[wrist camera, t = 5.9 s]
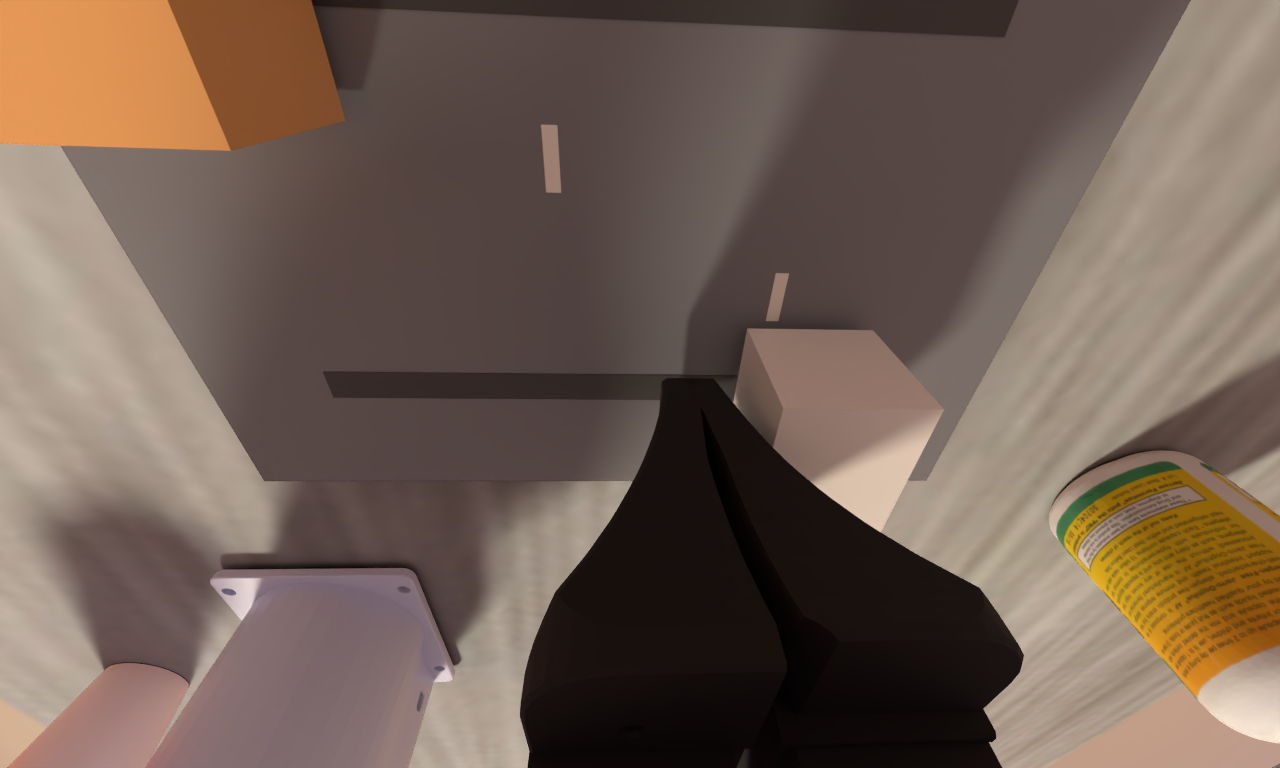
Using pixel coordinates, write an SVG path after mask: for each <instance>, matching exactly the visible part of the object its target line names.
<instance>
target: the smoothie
mask: <svg viewBox="0 0 1280 768" xmlns="http://www.w3.org/2000/svg"><path fill="white" fill-rule="evenodd" d="M188 688H189V684H188V682H187V681H186V680H185V679H184V678H183V677H181V676H179V675H178V674H176V673H174V672H171V671H169V670H166V669H163V668H159V667H156V666H151V665H145V664H137V663H121V664H115V665H111V666H109V667H107V668H106V669H105V670H104V671H103V672H102V673H101V674H100V675H99V676H98V677H97V678H96V679H95V680H94V681H93V682H92V683H91V684H90V685H89V686H88V687H87V688H86V689H85V690H84V691H83V692H82V693H81V694H80V695H79V696H78V697H77V698H76V699H75V700H74V701H73V702H72V703H71V704H70V705H69V706H68V707H67V708H66V709H65V710H64V711H63V712H62V713H61V714H60V715H59V716H58V717H57V718H56V719H55V720H54V721H53V722H52V723H51V724H50V725H49V726H48V727H47V728H46V729H45V730H44V731H43V732H42V734H40V735H39V736H38V737H37V738H36V739H35V740H34V741H33V742H32V743H31V744H30V745H29V747H27V749H25V750H24V751H23V753H21V754H20V755H19V756H18V757H17V758H16V759H15V760H14V761H13V763H12V764H10V765H9V767H7V768H145V767H146V765H147V764H148V762H149V761H150V759H151V757H152V755H153V754H154V752H155V750H156V748H157V746H158V744H159V742H160V740H161V739H162V737H163V735H164V733H165V731H166V729H167V727H168V726H169V724H170V722H171V720H172V718H173V716H174V714H175V712H176V711H177V709H178V707H179V705H180V703H181V701H182V699H183V698H184V696H185V694H186V692H187V690H188Z"/></svg>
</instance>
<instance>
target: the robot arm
mask: <svg viewBox="0 0 1280 768" xmlns="http://www.w3.org/2000/svg"><path fill="white" fill-rule="evenodd" d="M210 583H211V585H212V586H213V587H214V589H215V590H216V591H217V592H218V593H219V594H220V596H221V597H222V598H223V599H224V600H225V601H226V603H227V604H228V605H229V606H230V607H231V608H232V610H233V611H234V612H235V613H236V614H237V615H238V617H239V618H240V619H241V620H242V622H241V623H240V625H239V626H238V628H237V629H236V631H235V632H234V634H233V635H232V637H231V638H230V640H229V641H228V643H227V644H226V646H225V647H224V649H223V650H222V652H221V653H220V655H219V656H218V658H217V659H216V661H215V662H214V664H213V665H212V667H211V669H210V670H209V672H208V673H207V675H206V676H205V678H204V679H203V681H202V682H201V684H200V685H199V687H198V688H197V690H196V691H195V693H194V694H193V696H192V697H191V699H190V700H189V702H188V703H187V705H186V706H185V708H184V709H183V711H182V712H181V714H180V715H179V717H178V718H177V720H176V721H175V723H174V724H173V726H172V727H171V729H170V730H169V732H168V734H167V735H166V737H165V738H164V740H163V741H162V743H161V744H160V746H159V747H158V749H157V750H156V752H155V753H154V755H153V756H152V758H151V759H150V761H149V762H148V764H147V765H146V767H145V768H408V767H409V764H410V760H411V757H412V754H413V750H414V747H415V743H416V740H417V737H418V733H419V730H420V726H421V723H422V720H423V716H424V713H425V709H426V706H427V703H428V699H429V696H430V693H431V689H432V686H433V682H447V681H451V680H452V679H453V678H454V674H455V669H454V666H453V664H452V661H451V659H450V657H449V654H448V652H447V649H446V647H445V644H444V642H443V640H442V637H441V635H440V632H439V630H438V627H437V625H436V622H435V620H434V618H433V615H432V613H431V610H430V608H429V605H428V603H427V600H426V598H425V596H424V593H423V591H422V588H421V586H420V583H419V581H418V578H417V576H416V574H415V573H414V572H413V571H412V570H410V569H407V568H337V569H231V570H219V571H217V572H216V573H215V574H214V575H213V576H212V578H211V579H210ZM1023 657H1024V655H1023V653H1022V651H1021V649H1020V647H1019V645H1018V643H1017V642H1016V640H1015V639H1014V637H1013V636H1012V634H1011V633H1010V631H1009V630H1008V628H1007V627H1006V625H1005V623H1004V622H1003V620H1002V619H1001V617H1000V616H999V614H998V613H997V611H996V610H995V609H994V607H993V606H992V604H991V603H990V601H989V600H988V599H987V597H986V596H985V595H984V593H983V592H982V591H981V589H980V588H979V587H977V586H975V585H973V584H971V583H969V582H967V581H965V580H964V579H962V578H960V577H958V576H956V575H954V574H952V573H950V572H949V571H947V570H945V569H943V568H941V567H939V566H937V565H935V564H934V563H932V562H930V561H928V560H926V559H924V558H922V557H920V556H919V555H917V554H915V553H914V552H912V551H910V550H909V549H907V548H905V547H904V546H902V545H900V544H899V543H897V542H895V541H894V540H892V539H890V538H889V537H887V536H886V535H884V534H882V533H881V532H879V531H878V530H876V529H875V528H873V527H871V526H870V525H868V524H867V523H865V522H864V521H862V520H861V519H859V518H858V517H857V516H855V515H854V514H852V513H851V512H850V511H848V510H847V509H845V508H844V507H843V506H841V505H840V504H838V503H837V502H836V501H834V500H833V499H832V498H830V497H829V496H828V495H826V494H825V493H824V492H822V491H821V490H820V489H819V488H817V487H816V486H815V485H814V484H813V483H811V482H810V481H809V480H808V479H807V478H805V477H804V476H803V475H802V474H801V473H800V472H798V471H797V470H796V469H795V468H794V467H793V466H792V465H790V464H789V463H788V462H787V461H786V460H785V459H784V458H783V457H782V456H781V455H780V454H779V453H778V452H777V451H776V450H775V449H774V448H773V447H772V446H771V445H770V444H769V443H768V442H767V441H766V440H765V439H764V438H763V437H762V435H761V434H760V433H759V432H758V431H757V430H756V429H755V428H754V427H753V425H752V424H751V423H750V422H749V421H748V420H747V419H746V418H745V416H744V415H743V414H742V413H741V412H740V410H739V409H738V408H737V407H736V406H735V404H734V403H733V402H732V401H731V399H730V398H729V397H728V396H727V394H726V393H725V392H724V390H723V389H722V388H721V387H720V385H719V384H718V383H717V382H716V381H715V380H714V378H666V379H665V380H663V381H662V382H661V394H660V408H659V416H658V420H657V423H656V427H655V430H654V433H653V436H652V439H651V441H650V444H649V447H648V449H647V452H646V454H645V457H644V459H643V462H642V464H641V466H640V468H639V470H638V472H637V475H636V476H635V478H634V480H633V482H632V484H631V486H630V488H629V490H628V492H627V494H626V495H625V497H624V499H623V500H622V502H621V504H620V506H619V507H618V509H617V511H616V512H615V514H614V516H613V517H612V519H611V520H610V522H609V523H608V525H607V526H606V528H605V529H604V530H603V532H602V533H601V535H600V536H599V537H598V539H597V540H596V542H595V543H594V545H593V546H592V547H591V549H590V550H589V552H588V553H587V554H586V555H585V557H584V558H583V559H582V561H581V562H580V563H579V564H578V565H577V567H576V568H575V569H574V570H573V571H572V573H571V574H570V575H569V576H568V577H567V579H566V580H565V581H564V582H563V583H562V585H561V586H560V587H559V588H558V589H557V591H556V592H555V594H554V596H553V598H552V600H551V603H550V605H549V607H548V609H547V612H546V614H545V616H544V618H543V621H542V623H541V625H540V628H539V630H538V633H537V635H536V638H535V641H534V643H533V646H532V649H531V652H530V656H529V659H528V663H527V667H526V671H525V677H524V684H523V691H522V698H521V707H520V718H521V722H522V725H523V729H524V732H525V736H526V740H527V743H528V747H529V751H530V753H529V761H528V768H1002V767H1001V765H1000V763H999V761H998V759H997V757H996V755H995V753H994V752H993V750H992V748H991V746H990V744H989V742H993V741H994V740H995V739H996V731H995V730H994V728H993V726H992V724H991V722H990V721H989V719H988V717H987V715H986V713H985V711H984V710H983V708H984V707H985V706H987V705H988V704H989V703H990V702H991V701H992V700H993V699H994V698H995V697H996V696H997V695H998V694H999V693H1001V692H1002V691H1003V690H1004V689H1005V688H1006V687H1007V686H1008V685H1009V684H1010V683H1011V682H1012V681H1013V680H1014V679H1015V677H1016V676H1017V675H1018V674H1019V672H1020V669H1021V666H1022V662H1023ZM1272 768H1280V764H1278V765H1276V766H1274V767H1272Z"/></svg>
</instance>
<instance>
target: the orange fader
mask: <svg viewBox="0 0 1280 768" xmlns="http://www.w3.org/2000/svg"><path fill="white" fill-rule="evenodd" d="M343 121H346V120H345V117H344V113H343V110H342V106H341V103H340V99H339V96H338V92H337V89H336V85H335V82H334V78H333V75H332V71H331V68H330V64H329V61H328V57H327V54H326V50H325V47H324V43H323V40H322V36H321V33H320V29H319V26H318V22H317V19H316V15H315V12H314V8H313V5H312V1H311V0H0V144H28V145H60V146H92V147H124V148H157V149H189V150H221V151H232V150H236V149H240V148H244V147H247V146H251V145H255V144H259V143H263V142H267V141H270V140H274V139H278V138H282V137H286V136H290V135H293V134H297V133H301V132H305V131H309V130H312V129H316V128H320V127H324V126H328V125H332V124H335V123H339V122H343Z"/></svg>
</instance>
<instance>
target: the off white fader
mask: <svg viewBox="0 0 1280 768" xmlns="http://www.w3.org/2000/svg"><path fill="white" fill-rule="evenodd" d="M733 403H734V404H735V406H736V407H737V408H738V409H739V410H740V412H741V413H742V414H743V415H744V416H745V418H746V419H747V420H748V421H749V422H750V423H751V424H752V425H753V427H754V428H755V429H756V430H757V431H758V432H759V433H760V434H761V435H762V437H763V438H764V439H765V440H766V441H767V442H768V443H769V444H770V445H771V446H772V447H773V448H774V449H775V450H776V451H777V452H778V453H779V454H780V455H781V456H782V457H783V458H784V459H785V460H786V461H787V462H788V463H789V464H790V465H792V466H793V467H794V468H795V469H796V470H797V471H798V472H800V473H801V474H802V475H803V476H804V477H805V478H807V479H808V480H809V481H810V482H811V483H813V484H814V485H815V486H816V487H817V488H819V489H820V490H821V491H822V492H824V493H825V494H826V495H828V496H829V497H830V498H832V499H833V500H834V501H836V502H837V503H838V504H840V505H841V506H843V507H844V508H845V509H847V510H848V511H850V512H851V513H852V514H854V515H855V516H857V517H858V518H859V519H861V520H862V521H864V522H865V523H867V524H868V525H870V526H871V527H873V528H875V529H876V530H878V531H879V532H881V531H882V529H883V527H884V525H885V523H886V521H887V519H888V517H889V515H890V513H891V511H892V509H893V508H894V506H895V504H896V502H897V500H898V498H899V496H900V494H901V492H902V490H903V488H904V486H905V484H906V482H907V480H908V479H909V477H910V475H911V473H912V471H913V469H914V467H915V465H916V463H917V461H918V459H919V457H920V455H921V453H922V451H923V450H924V448H925V446H926V444H927V442H928V440H929V438H930V436H931V434H932V432H933V430H934V428H935V426H936V424H937V423H938V421H939V419H940V417H941V415H942V413H943V411H944V409H943V408H942V406H941V405H940V404H939V403H938V402H937V401H936V400H935V399H934V398H933V396H932V395H931V394H930V393H929V392H928V391H927V390H926V389H925V388H924V386H923V385H922V384H921V383H920V382H919V381H918V380H917V379H916V377H915V376H914V375H913V374H912V373H911V372H910V371H909V370H908V369H907V367H906V366H905V365H904V364H903V363H902V362H901V361H900V360H899V359H898V357H897V356H896V355H895V354H894V353H893V352H892V351H891V350H890V349H889V347H888V346H887V345H886V344H885V343H884V342H883V341H882V340H881V339H880V337H879V336H878V335H877V334H876V333H875V332H874V331H873V330H822V329H754V328H747V332H746V337H745V343H744V348H743V353H742V359H741V364H740V369H739V375H738V380H737V385H736V391H735V396H734V401H733Z"/></svg>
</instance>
